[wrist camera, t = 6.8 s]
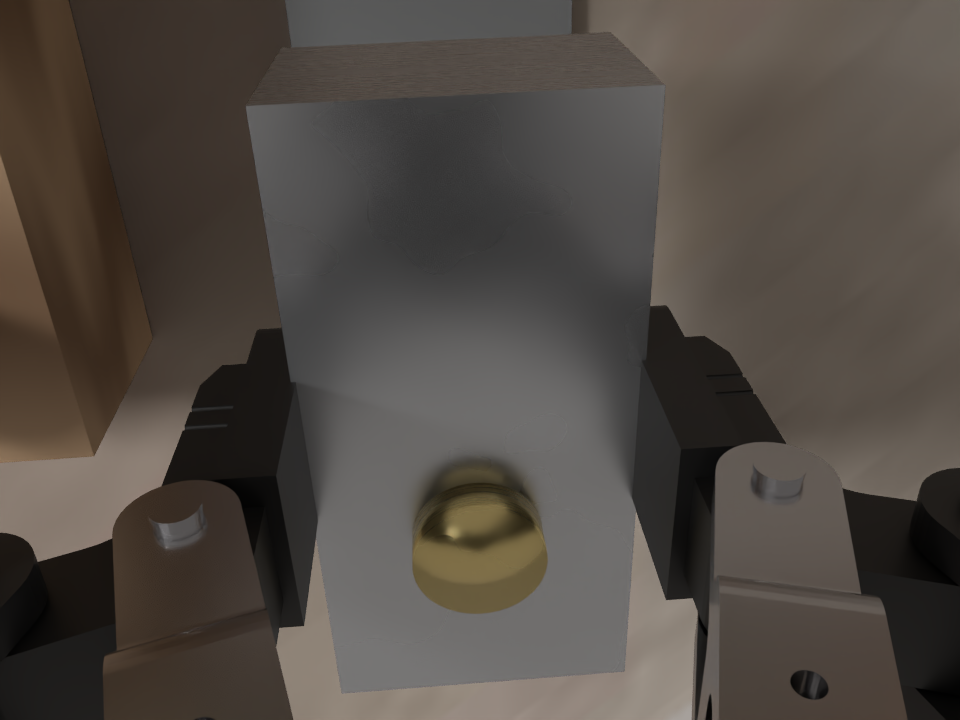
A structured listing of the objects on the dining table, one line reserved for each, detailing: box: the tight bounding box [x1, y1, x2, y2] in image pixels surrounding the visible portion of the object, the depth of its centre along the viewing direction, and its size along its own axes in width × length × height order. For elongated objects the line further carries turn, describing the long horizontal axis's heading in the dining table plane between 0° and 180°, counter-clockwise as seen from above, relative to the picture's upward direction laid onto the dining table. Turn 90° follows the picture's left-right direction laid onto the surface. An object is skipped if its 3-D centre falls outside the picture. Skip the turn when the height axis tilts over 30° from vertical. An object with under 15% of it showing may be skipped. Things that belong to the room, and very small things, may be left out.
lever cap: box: [246, 32, 665, 693], centre depth 13 cm, size 9×4×4 cm, turn 2°
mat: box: [285, 0, 572, 47], centre depth 21 cm, size 10×6×1 cm, turn 2°
